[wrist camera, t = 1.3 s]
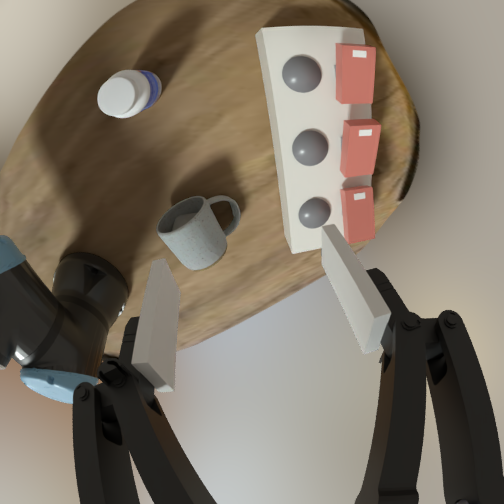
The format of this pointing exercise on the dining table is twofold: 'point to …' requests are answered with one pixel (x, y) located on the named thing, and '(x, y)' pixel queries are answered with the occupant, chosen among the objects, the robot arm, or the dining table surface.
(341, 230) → the switch panel
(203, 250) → the ceramic mug
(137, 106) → the pill bottle
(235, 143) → the dining table surface
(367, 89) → the block
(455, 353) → the robot arm
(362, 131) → the block
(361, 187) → the block
